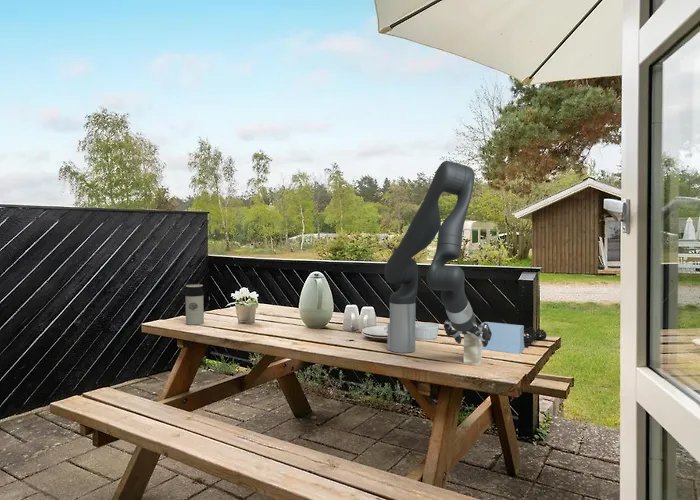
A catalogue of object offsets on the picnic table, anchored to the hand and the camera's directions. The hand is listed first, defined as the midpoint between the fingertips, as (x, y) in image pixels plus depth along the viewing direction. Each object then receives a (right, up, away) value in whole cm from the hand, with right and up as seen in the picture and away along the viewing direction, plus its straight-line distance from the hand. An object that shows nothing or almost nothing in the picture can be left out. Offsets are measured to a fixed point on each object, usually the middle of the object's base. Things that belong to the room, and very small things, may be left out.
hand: (472, 343), depth 163 cm
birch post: (0, -7, +1) cm, 7 cm away
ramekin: (-10, -5, +39) cm, 40 cm away
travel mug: (-112, -4, +70) cm, 132 cm away
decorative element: (+29, -6, +28) cm, 41 cm away
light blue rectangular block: (+15, -6, +18) cm, 24 cm away
